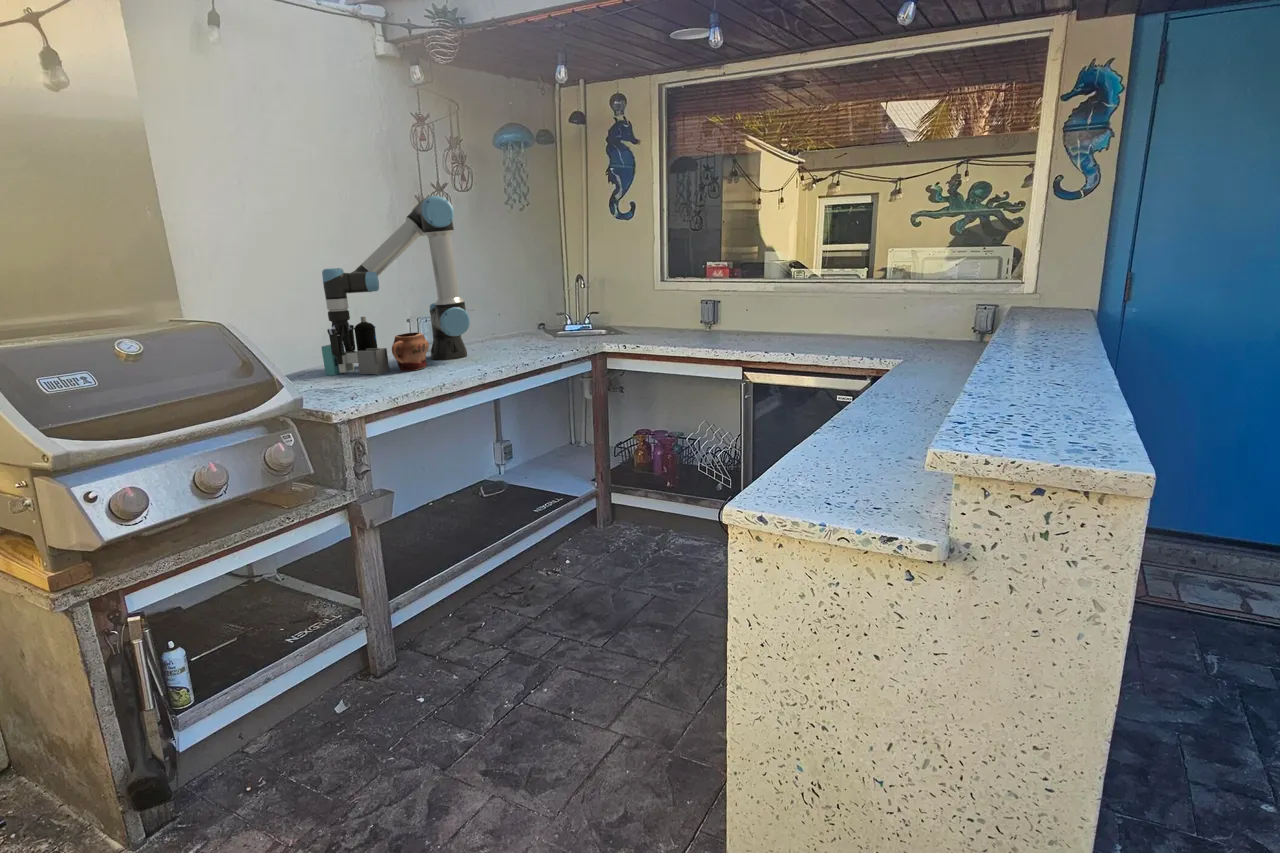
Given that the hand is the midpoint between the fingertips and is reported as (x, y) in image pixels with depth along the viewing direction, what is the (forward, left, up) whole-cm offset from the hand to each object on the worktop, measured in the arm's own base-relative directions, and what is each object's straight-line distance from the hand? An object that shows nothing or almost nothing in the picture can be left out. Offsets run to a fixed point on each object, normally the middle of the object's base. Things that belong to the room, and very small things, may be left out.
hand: (346, 371), depth 280 cm
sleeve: (-12, 0, -1) cm, 12 cm away
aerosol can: (-1, -14, -1) cm, 15 cm away
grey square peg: (-2, 0, +3) cm, 4 cm away
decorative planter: (-23, -7, -1) cm, 24 cm away
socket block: (+5, 0, -1) cm, 5 cm away
